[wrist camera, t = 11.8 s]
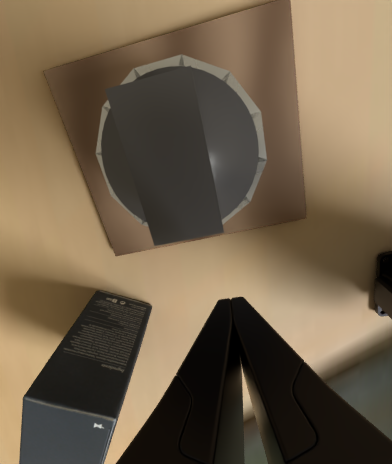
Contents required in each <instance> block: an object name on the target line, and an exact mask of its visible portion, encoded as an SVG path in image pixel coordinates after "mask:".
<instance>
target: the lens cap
mask: <svg viewBox="0 0 392 464" xmlns="http://www.w3.org/2000/svg"><path fill="white" fill-rule="evenodd" d="M105 92H106V95H107V98H108V101H109V104H110V107H111V108H110V110H109V112H108V114H107V117H106V120H105V122H104V127H103V131H102V139H101V155H102V161H103V167H104V170H105V174H106V177H107V179H108V181H109V184H110V186H111V188H112V189H113V191H114V193H115V194H116V196H117V197H118V199H119V200H120V201H121V202H122V204H123V205H124V206H125V207H126V208H127V209H128V210H129V211H131V212H132V213H133V214H134V215H135V216H137V217H138V218H140V219H141V220H143V221H145V222H147V224H148V227H149V230H150V233H151V237H152V240H153V243H154V246H158V245H163V244H168V243H173V242H178V241H183V240H189V239H194V238H199V237H204V236H209V235H214V234H219V233H224V229H223V224H222V219H224V218H225V217H226V216H228V215H229V214H230V213H231V212H233V211H234V210H235V209H236V208H237V207H238V205H239V204H240V203H241V202H242V201H243V199H244V198H245V196H246V195H247V193H248V191H249V189H250V187H251V185H252V183H253V180H254V177H255V174H256V170H257V165H258V156H259V146H258V137H257V132H256V127H255V124H254V121H253V118H252V116H251V114H250V112H249V110H248V108H247V106H246V105H245V103H244V102H243V100H242V99H241V97H240V96H239V95H238V94H237V93H236V92H235V91H234V90H233V89H232V88H231V87H230V86H229V85H228V84H227V83H225V82H224V81H223V80H221V79H219V78H218V77H216V76H215V75H213V74H210V73H208V72H206V71H204V70H200V69H196V68H193V67H191V65H190V66H187V67H185V66H169V67H164V68H159V69H156V70H153V71H150V72H147V73H145V74H144V75H142V76H140V77H138V78H136V79H135V80H134V81H133V82H129V83H126V84H122V85H118V86H115V87H111V88H108V89H105Z"/></svg>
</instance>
